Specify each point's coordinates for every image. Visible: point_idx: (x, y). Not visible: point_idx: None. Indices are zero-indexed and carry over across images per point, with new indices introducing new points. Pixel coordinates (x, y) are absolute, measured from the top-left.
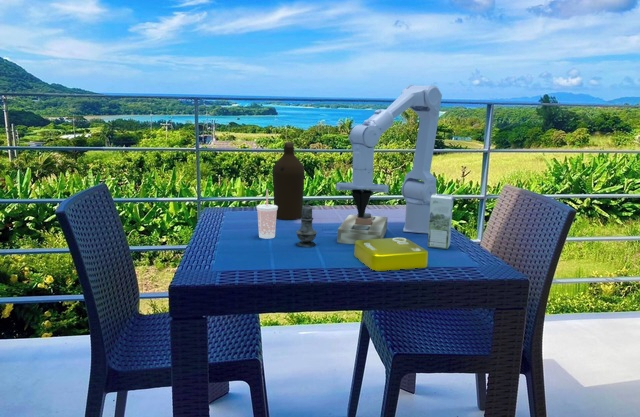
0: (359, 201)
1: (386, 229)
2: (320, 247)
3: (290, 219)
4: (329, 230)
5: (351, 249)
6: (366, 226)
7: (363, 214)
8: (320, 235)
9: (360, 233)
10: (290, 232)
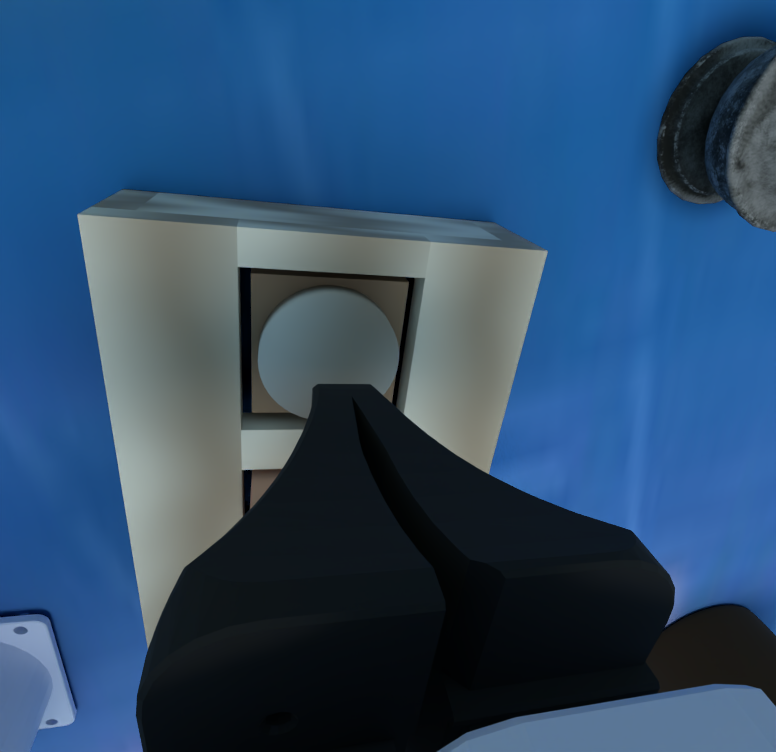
0: (422, 490)
1: None
2: (637, 43)
3: (697, 613)
4: None
5: (374, 13)
6: (275, 388)
7: (314, 398)
8: (590, 392)
9: (317, 225)
10: (750, 408)
